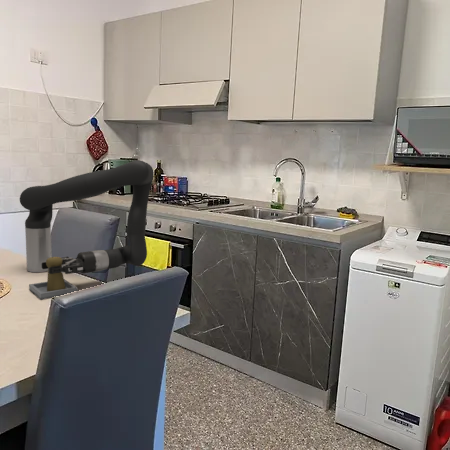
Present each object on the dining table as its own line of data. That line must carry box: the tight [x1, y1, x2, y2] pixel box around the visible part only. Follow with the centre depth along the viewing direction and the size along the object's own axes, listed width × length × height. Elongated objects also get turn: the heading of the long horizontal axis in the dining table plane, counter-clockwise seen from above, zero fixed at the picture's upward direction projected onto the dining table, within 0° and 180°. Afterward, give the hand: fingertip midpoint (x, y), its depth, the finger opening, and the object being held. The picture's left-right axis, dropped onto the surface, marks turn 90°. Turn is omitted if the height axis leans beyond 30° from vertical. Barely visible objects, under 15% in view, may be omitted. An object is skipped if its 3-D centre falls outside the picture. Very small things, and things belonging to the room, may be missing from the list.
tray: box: [28, 278, 78, 300], centre depth 150 cm, size 12×12×2 cm
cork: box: [46, 256, 66, 291], centre depth 149 cm, size 6×6×11 cm
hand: (45, 268), depth 148 cm, fingers open, 6 cm apart
